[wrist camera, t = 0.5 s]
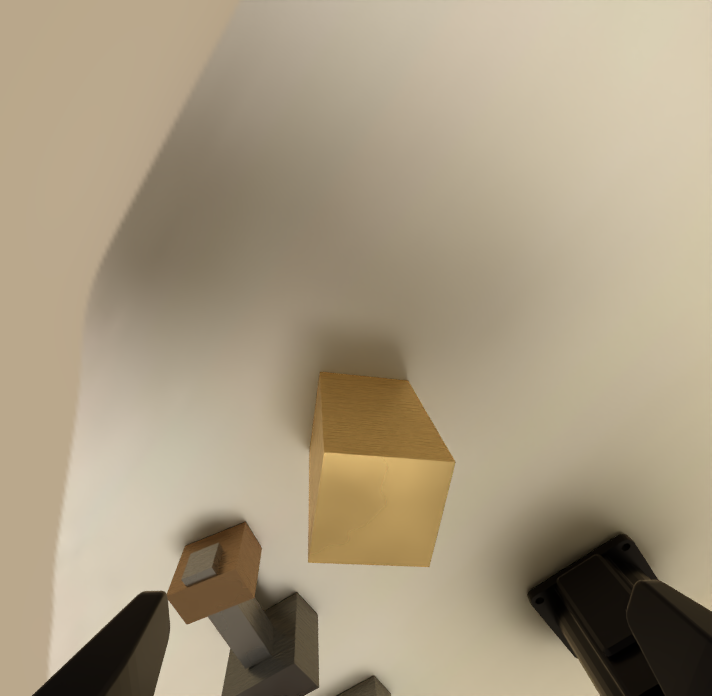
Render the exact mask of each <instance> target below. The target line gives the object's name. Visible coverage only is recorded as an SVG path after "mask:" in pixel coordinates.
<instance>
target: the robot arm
mask: <svg viewBox="0 0 712 696" xmlns="http://www.w3.org/2000/svg"><path fill="white" fill-rule="evenodd" d="M528 599H529V601H530V603H531V604H532V606H533V607H534V608H535V610H536V611H537V612H538V613H539V614H540V616H541V617H542V618H543V619H544V620H545V622H546V623H547V624H548V625H549V626H550V628H551V629H552V630H553V631H554V633H555V634H556V635H557V636H558V637H559V639H560V640H561V641H562V642H563V643H564V645H565V646H566V647H567V648H568V649H569V651H570V652H571V653H572V654H573V655H574V657H576V658H578V659H579V661H580V663H581V664H582V666H583V668H584V669H585V671H586V673H587V674H588V676H589V678H590V679H591V681H592V683H593V684H594V686H595V688H596V689H597V691H598V693H599V694H600V696H712V611H710V610H708V609H707V608H705V607H703V606H702V605H700V604H698V603H697V602H695V601H693V600H692V599H690V598H688V597H687V596H685V595H683V594H682V593H680V592H678V591H677V590H675V589H673V588H672V587H670V586H668V585H667V584H665V583H663V582H662V581H659V580H658V579H657V577H656V576H655V574H654V573H653V571H652V569H651V568H650V566H649V565H648V563H647V562H646V560H645V558H644V557H643V555H642V554H641V552H640V551H639V549H638V547H637V546H636V544H635V543H634V542H633V541H632V539H631V538H630V537H629V536H627V535H625V534H620V535H618V536H616V537H615V538H613V539H611V540H610V541H608V542H607V543H605V544H603V545H602V546H600V547H599V548H597V549H595V550H594V551H592V552H591V553H589V554H587V555H586V556H584V557H583V558H581V559H580V560H578V561H576V562H575V563H573V564H572V565H570V566H568V567H567V568H565V569H564V570H562V571H560V572H559V573H557V574H556V575H554V576H552V577H551V578H549V579H548V580H546V581H544V582H543V583H541V584H540V585H538V586H536V587H535V588H533V589H532V590H531V591H529V593H528ZM169 633H170V619H169V608H168V598H167V594H166V592H164V591H144V592H142V593H140V594H138V595H137V596H136V597H135V598H134V599H133V600H132V601H131V602H130V603H129V604H128V605H127V606H126V607H125V608H124V609H122V610H121V611H120V612H119V613H118V614H117V615H116V616H115V617H114V618H113V619H112V620H111V621H110V622H109V623H108V624H107V625H106V626H105V627H104V628H103V629H101V630H100V631H99V632H98V633H97V634H96V635H95V636H94V637H93V638H92V639H91V640H90V641H89V642H88V643H87V644H86V645H85V646H84V647H83V648H82V649H81V650H79V651H78V652H77V653H76V654H75V655H74V656H73V657H72V658H71V659H70V660H69V661H68V662H67V663H66V664H65V665H64V666H63V667H62V668H61V669H60V670H58V671H57V672H56V673H55V674H54V675H53V676H52V677H51V678H50V679H49V680H48V681H47V682H46V683H45V684H44V685H43V686H42V687H41V688H40V689H39V690H37V692H35V694H33V695H32V696H154V692H155V688H156V684H157V681H158V677H159V673H160V669H161V666H162V662H163V658H164V655H165V651H166V647H167V643H168V639H169Z"/></svg>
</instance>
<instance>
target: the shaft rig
mask: <svg viewBox="0 0 712 696" xmlns="http://www.w3.org/2000/svg"><path fill="white" fill-rule="evenodd" d="M261 551H262V548H261V546H260V545H259V543H258V541H257V540H256V538H255V536H254V535H253V533H252V531H251V530H250V528H249V527H248V525H247V523H246V522H244V523H241V524H239V525H236V526H234V527H231V528H229V529H226V530H224V531H222V532H219V533H217V534H214V535H212V536H209V537H207V538H204V539H202V540H199V541H197V542H194V543H192V544H189V545H187V546H185V548H184V550H183V553H182V556H181V558H180V561H179V563H178V566H177V569H176V571H175V574H174V576H173V579H172V582H171V584H170V587H169V589H168V592H167V598H168V600H169V601H170V603H171V604H172V605H173V607H174V608H175V609H176V611H177V612H178V613H179V615H180V616H181V617H182V619H183V620H184V621H185V623H186V624H190V623H192V622H195V621H197V620H200V619H202V618H205V617H207V616H208V617H209V619H210V620H211V622H212V623H213V624H214V626H215V627H216V629H217V630H218V631H219V633H220V634H221V635H222V637H223V638H224V640H225V641H226V642H227V644H228V645H229V647H230V653H229V659H228V664H227V669H226V675H225V680H224V685H223V691H222V696H304V695H306V694H308V693H310V692H312V691H314V690H315V689H317V688H319V655H318V615H317V614H316V613H315V611H314V610H313V609H312V608H311V607H310V606H309V605H308V604H307V603H306V602H305V601H304V600H303V599H302V597H301V596H300V595H299V594H298V593H295V594H294V595H292V596H290V597H288V598H287V599H285V600H283V601H281V602H280V603H278V604H276V605H274V606H273V607H271V608H269V609H267V610H266V611H263V609H262V608H261V606H260V605H259V603H258V602H257V600H256V599H255V591H256V584H257V578H258V571H259V564H260V558H261ZM338 696H391V694H390V693H389V692H388V690H387V689H386V688H385V687H384V686H383V685H382V684H381V683H380V682H379V681H378V680H377V679H376V677H375V676H373V677H371V678H369V679H367V680H365V681H364V682H362V683H360V684H358V685H356V686H354V687H353V688H351V689H349V690H347V691H345V692H343V693H341V694H340V695H338Z"/></svg>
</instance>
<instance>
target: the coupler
mask: <svg viewBox="0 0 712 696" xmlns="http://www.w3.org/2000/svg"><path fill="white" fill-rule="evenodd" d="M454 466H455V460H454V459H453V457H452V455H451V454H450V452H449V450H448V448H447V447H446V445H445V443H444V442H443V440H442V438H441V436H440V435H439V433H438V431H437V430H436V428H435V426H434V424H433V423H432V421H431V419H430V418H429V416H428V414H427V412H426V411H425V409H424V407H423V405H422V404H421V402H420V400H419V399H418V397H417V395H416V393H415V392H414V390H413V388H412V387H411V385H410V383H409V381H407V380H397V379H387V378H377V377H368V376H358V375H348V374H338V373H329V372H320V375H319V382H318V390H317V397H316V405H315V413H314V420H313V428H312V435H311V443H310V451H309V531H308V562H309V563H336V564H363V565H390V566H417V567H429V566H430V562H431V558H432V554H433V550H434V546H435V542H436V538H437V534H438V530H439V526H440V522H441V518H442V514H443V510H444V506H445V502H446V498H447V494H448V490H449V486H450V482H451V478H452V474H453V470H454Z"/></svg>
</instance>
